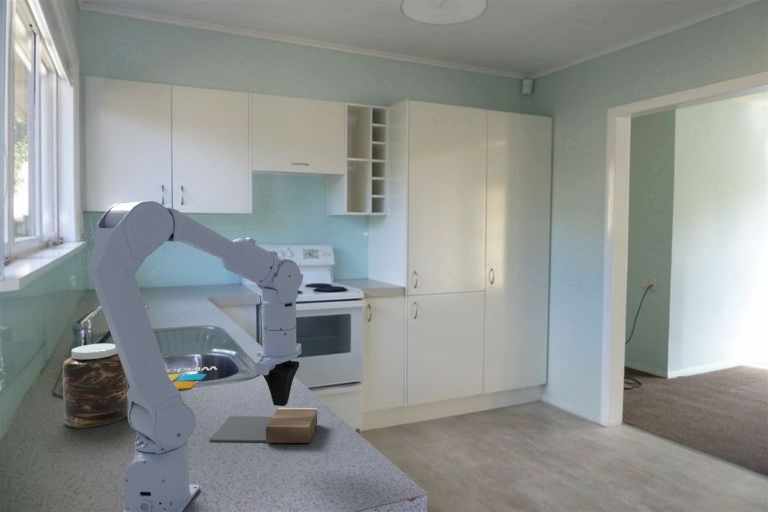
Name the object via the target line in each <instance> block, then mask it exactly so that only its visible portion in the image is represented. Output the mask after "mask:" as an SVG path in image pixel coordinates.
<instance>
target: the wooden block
mask: <svg viewBox="0 0 768 512" xmlns="http://www.w3.org/2000/svg"><path fill="white" fill-rule="evenodd" d="M318 413H319V411H318V407H277V409H276V411H274V414H273V415H272V416H271V417H272V418H271V420H270V421H269V423H268V424H267V426H266V442H265V443H268V444H269V443H271V444H273V443H274V444H275V443H278V444H280V443H282V444H286V443H287V444H290V443H291V444H297V443H298V444H299V443H300V444H309V443H310V442H311V439H312V437H313V435H314V432H315V429H316V428H317V425H318V423H319V419H318V415H319V414H318Z"/></svg>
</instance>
